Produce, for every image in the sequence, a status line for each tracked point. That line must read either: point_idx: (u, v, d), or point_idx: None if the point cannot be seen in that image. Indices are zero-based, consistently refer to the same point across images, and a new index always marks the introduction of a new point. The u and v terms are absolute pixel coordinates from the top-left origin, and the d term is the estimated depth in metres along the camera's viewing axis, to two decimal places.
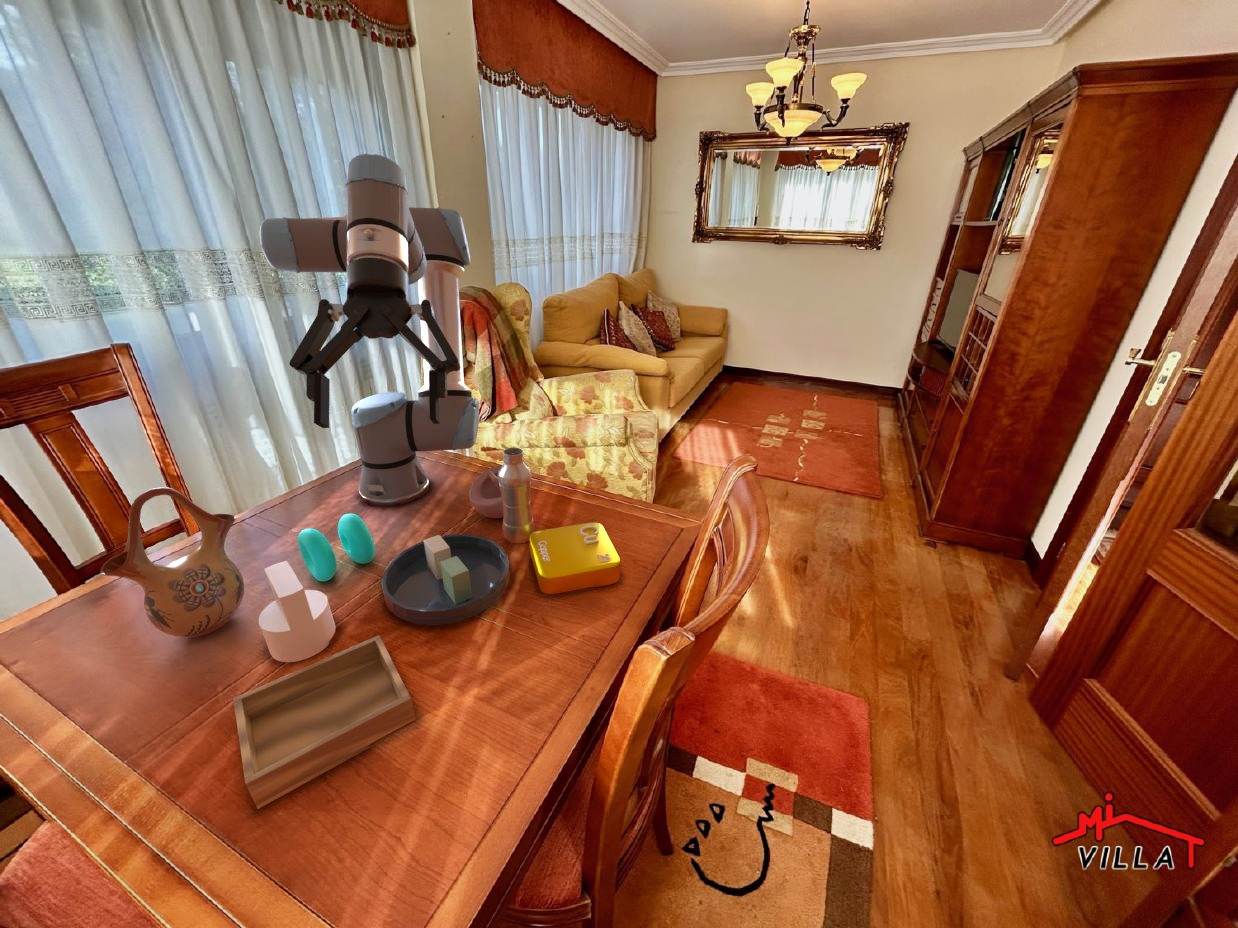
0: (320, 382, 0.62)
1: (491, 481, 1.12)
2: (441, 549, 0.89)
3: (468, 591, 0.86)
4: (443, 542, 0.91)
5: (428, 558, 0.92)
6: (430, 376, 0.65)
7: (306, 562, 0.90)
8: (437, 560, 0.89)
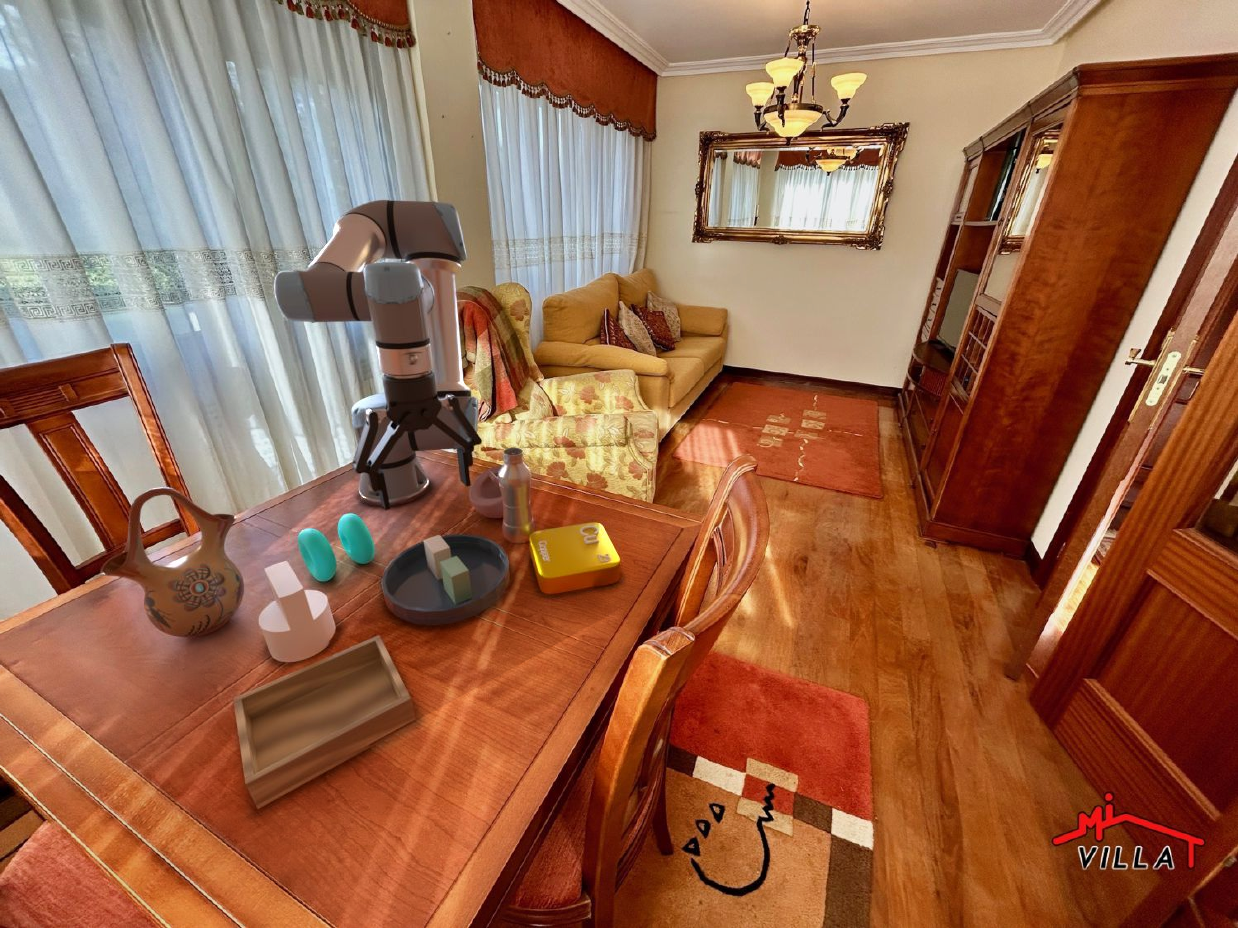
0: (384, 480, 0.78)
1: (491, 481, 1.12)
2: (441, 549, 0.89)
3: (468, 591, 0.86)
4: (443, 542, 0.91)
5: (428, 558, 0.92)
6: (464, 457, 0.86)
7: (306, 562, 0.90)
8: (437, 560, 0.89)
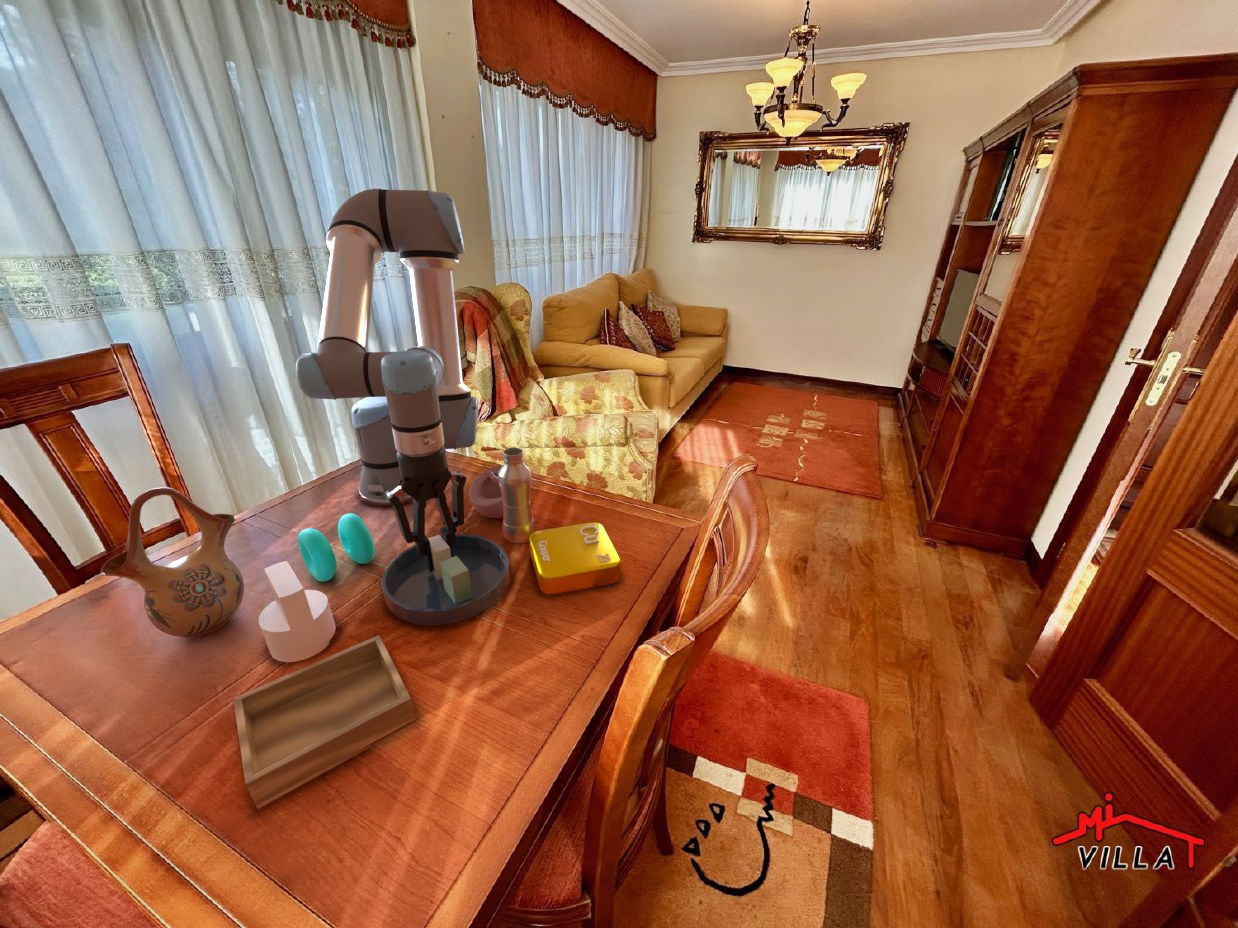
0: (430, 546, 0.88)
1: (491, 481, 1.12)
2: (441, 549, 0.89)
3: (468, 591, 0.86)
4: (443, 542, 0.91)
5: None
6: (447, 538, 0.90)
7: (306, 562, 0.90)
8: (437, 560, 0.89)
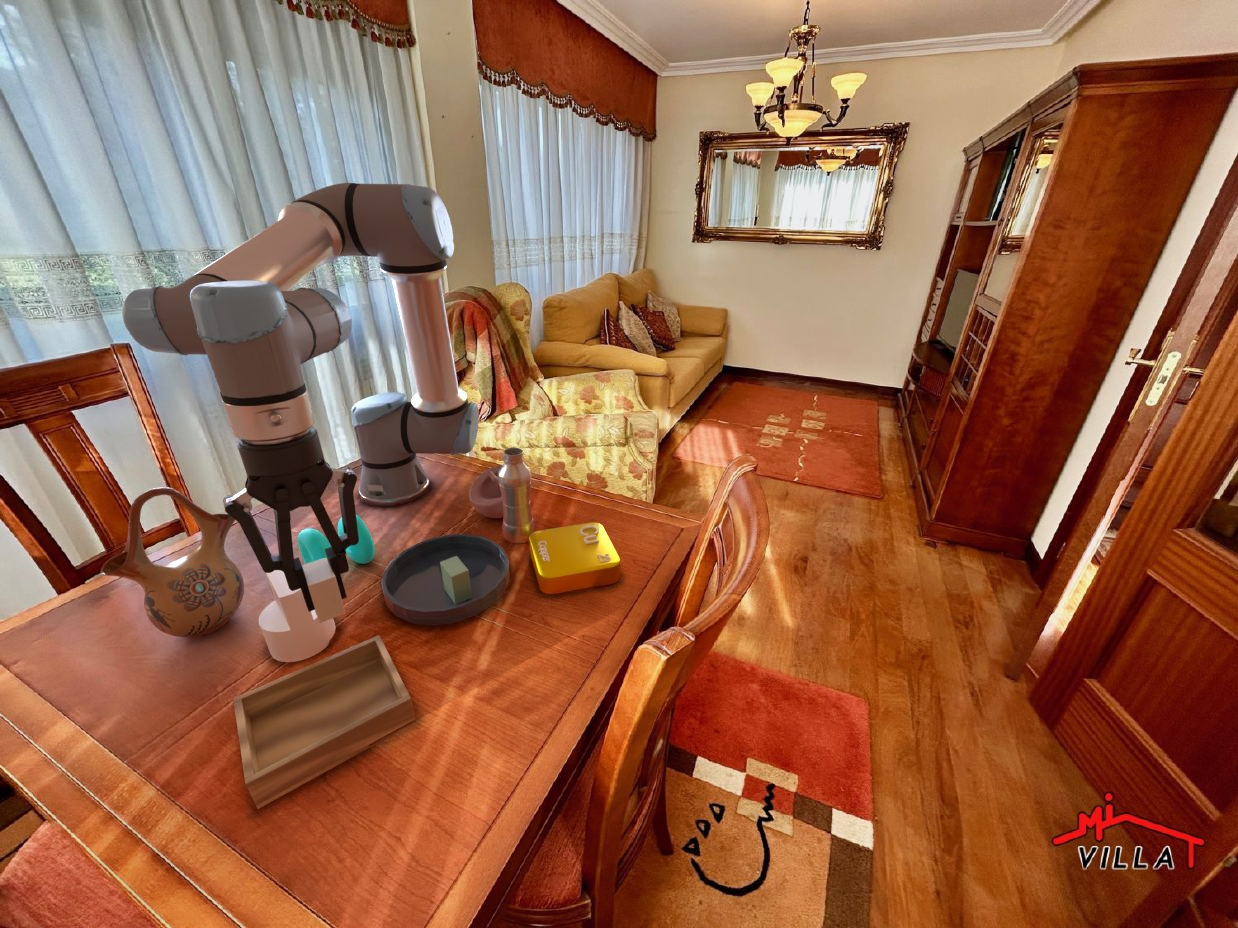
0: (304, 576, 0.61)
1: (491, 481, 1.12)
2: (321, 580, 0.61)
3: (468, 591, 0.86)
4: (328, 569, 0.63)
5: None
6: (332, 564, 0.63)
7: (306, 562, 0.90)
8: (317, 595, 0.62)
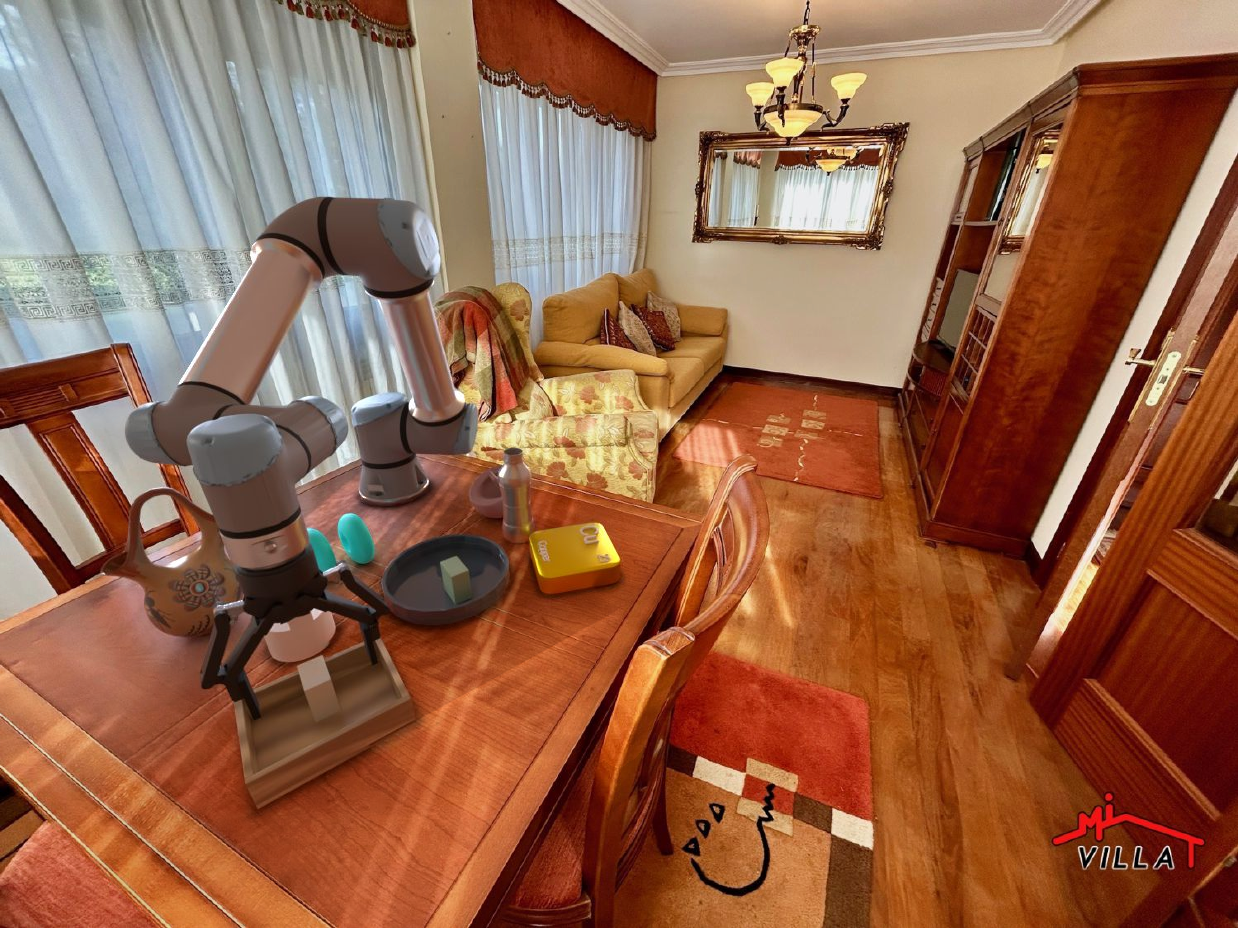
0: (247, 687, 0.59)
1: (491, 481, 1.12)
2: (317, 684, 0.63)
3: (468, 591, 0.86)
4: (324, 670, 0.65)
5: None
6: (366, 634, 0.66)
7: None
8: (313, 698, 0.63)
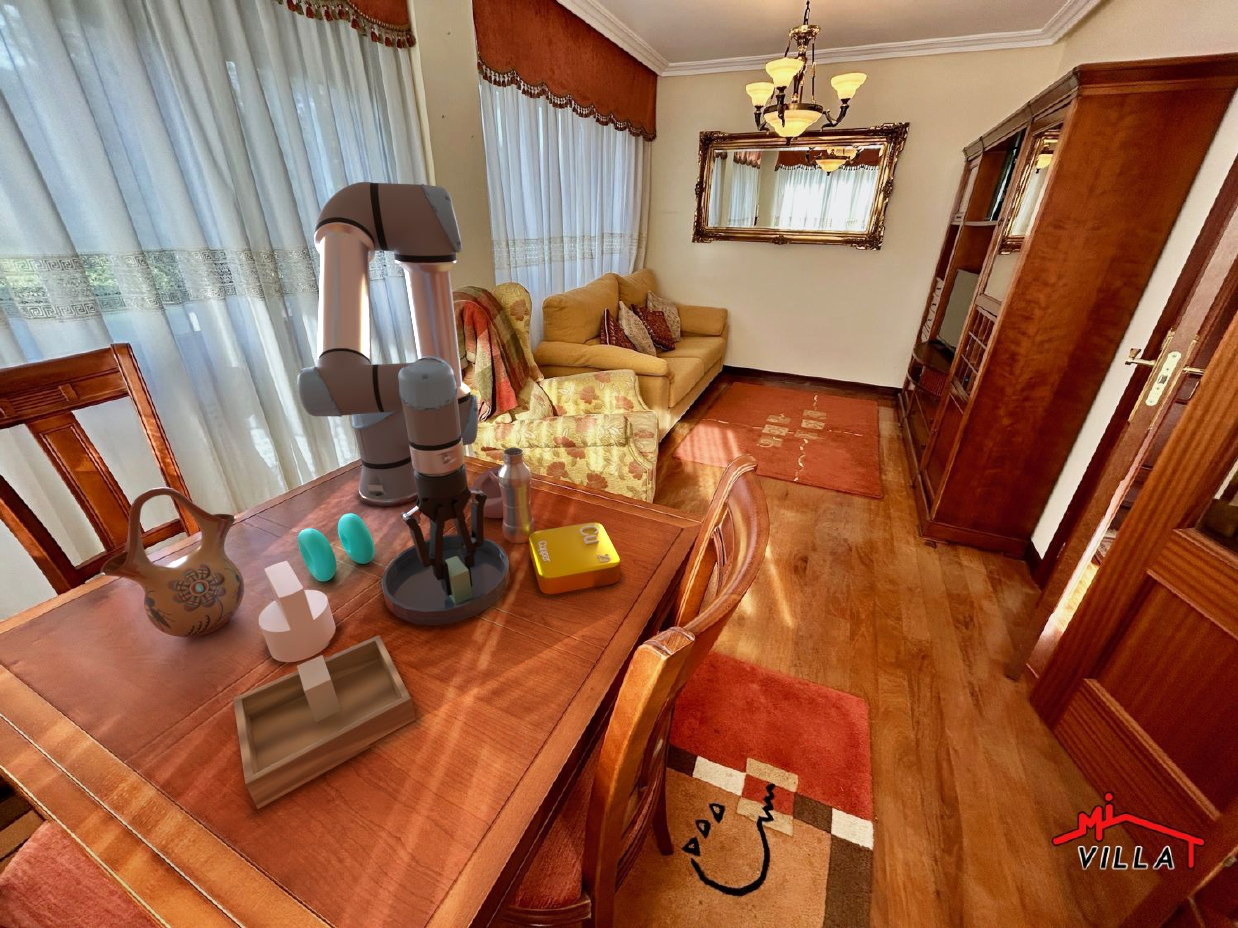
0: None
1: (491, 481, 1.12)
2: (317, 684, 0.63)
3: (468, 591, 0.86)
4: (324, 670, 0.65)
5: None
6: (466, 560, 0.84)
7: (306, 562, 0.90)
8: (313, 698, 0.63)
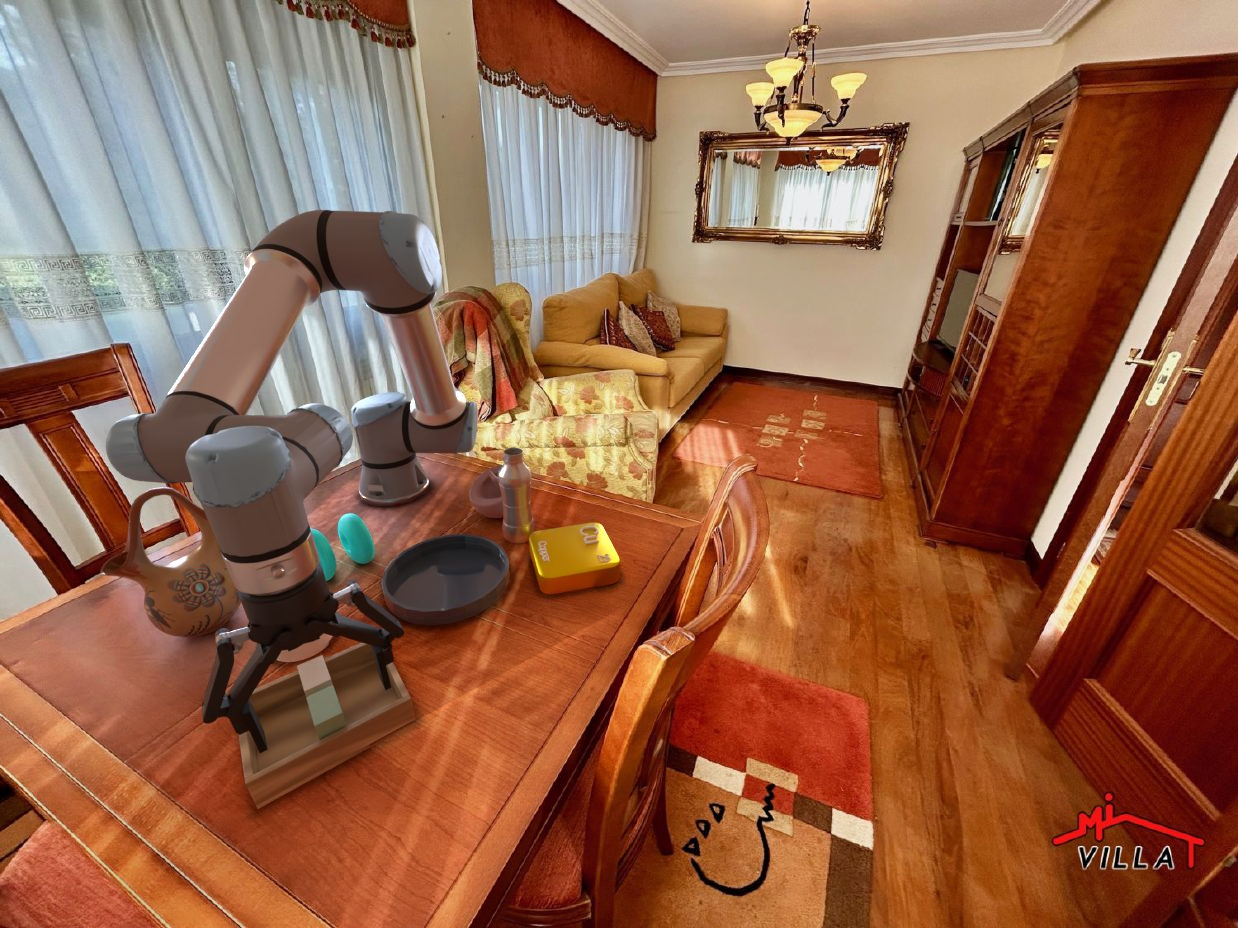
0: (253, 719, 0.54)
1: (491, 481, 1.12)
2: (317, 684, 0.63)
3: None
4: (324, 670, 0.65)
5: None
6: (379, 658, 0.62)
7: None
8: None
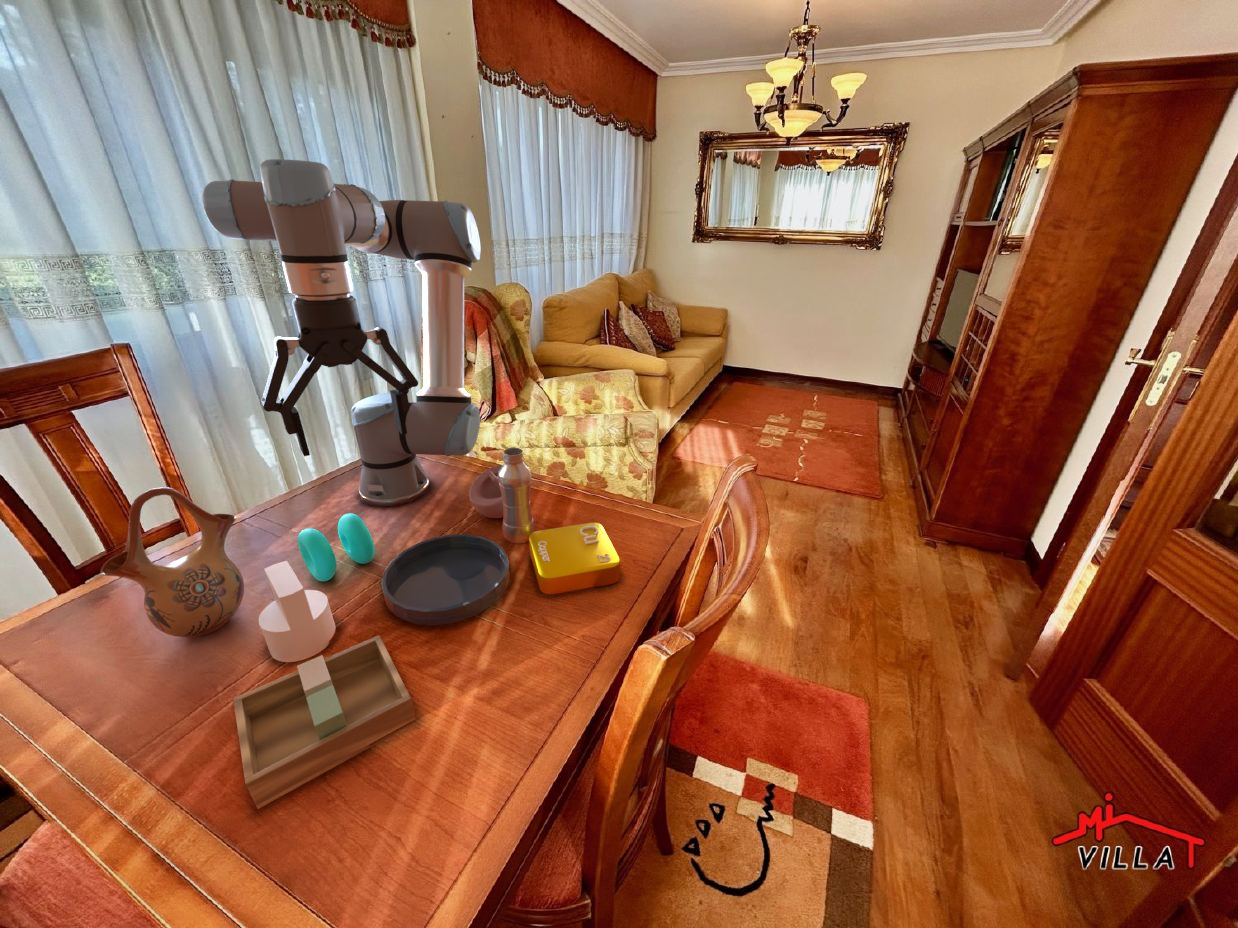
0: (300, 421, 0.69)
1: (491, 481, 1.12)
2: (317, 684, 0.63)
3: None
4: (324, 670, 0.65)
5: None
6: (397, 400, 0.76)
7: (306, 562, 0.90)
8: None
